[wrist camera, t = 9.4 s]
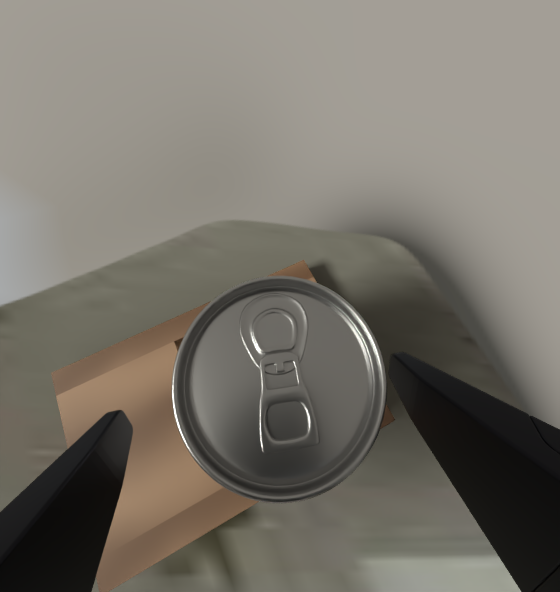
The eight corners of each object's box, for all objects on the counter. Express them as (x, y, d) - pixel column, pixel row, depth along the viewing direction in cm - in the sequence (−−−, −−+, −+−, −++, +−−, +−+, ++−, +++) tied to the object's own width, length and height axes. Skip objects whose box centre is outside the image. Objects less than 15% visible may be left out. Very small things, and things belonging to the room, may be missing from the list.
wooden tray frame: (381, 415, 17) (395, 420, 15) (123, 567, 15) (100, 596, 13) (300, 270, 20) (303, 259, 19) (74, 373, 18) (51, 372, 16)
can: (312, 325, 19) (368, 249, 8) (329, 417, 17) (439, 499, 6) (226, 337, 19) (153, 276, 7) (234, 433, 17) (152, 555, 5)
